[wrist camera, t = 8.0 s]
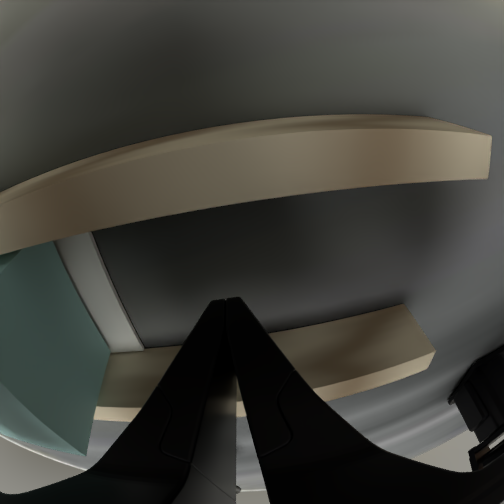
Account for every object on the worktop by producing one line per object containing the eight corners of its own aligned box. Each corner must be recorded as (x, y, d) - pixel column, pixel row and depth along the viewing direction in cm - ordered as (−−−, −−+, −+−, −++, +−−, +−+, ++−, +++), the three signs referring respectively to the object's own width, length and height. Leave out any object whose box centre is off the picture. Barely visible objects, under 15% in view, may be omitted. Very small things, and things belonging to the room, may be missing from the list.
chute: (427, 117, 8) (492, 136, 5) (398, 322, 12) (427, 369, 10) (-56, 222, 7) (-94, 256, 4) (27, 365, 12) (11, 406, 9)
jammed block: (46, 224, 8) (-41, 329, 3) (110, 351, 11) (86, 456, 6) (-39, 253, 8) (-100, 326, 3) (21, 351, 11) (-11, 429, 6)
